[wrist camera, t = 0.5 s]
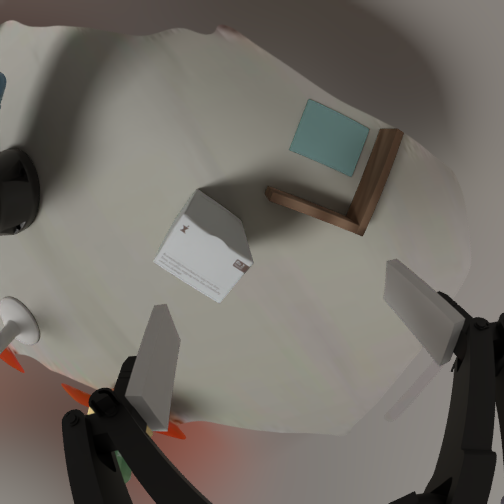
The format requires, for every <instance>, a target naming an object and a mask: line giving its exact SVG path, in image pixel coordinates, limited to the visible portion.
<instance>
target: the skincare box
mask: <svg viewBox="0 0 504 504" xmlns="http://www.w3.org/2000/svg"><path fill="white" fill-rule="evenodd" d="M153 262H154V263H156V264H157V265H159V266H160V267H162V268H163V269H165V270H166V271H168V272H169V273H171V274H172V275H174V276H176V277H177V278H179V279H180V280H182V281H183V282H185V283H187V284H188V285H190V286H191V287H193V288H195V289H196V290H198V291H199V292H201V293H203V294H204V295H206V296H208V297H209V298H211V299H213V300H214V301H216V302H218V303H220V302H221V301H222V300H223V299H224V298H225V296H226V295H227V294H228V293H229V292H230V290H231V289H232V288H233V287H234V286H235V284H236V283H237V282H238V281H239V280H240V278H241V277H242V276H243V275H244V274H245V273H246V271H247V270H248V269H249V268H250V267H251V266H252V265H253V263H254V262H253V259H252V255H251V252H250V248H249V245H248V241H247V238H246V234H245V231H244V227H243V224H242V221H241V220H240V219H239V218H238V217H236V216H235V215H234V214H232V213H231V212H230V211H228V210H227V209H226V208H224V207H223V206H222V205H220V204H219V203H217V202H216V201H215V200H213V199H212V198H210V197H209V196H207V195H205V194H204V193H203V192H201V191H200V190H199V189H197V190H196V191H195V192H194V193H193V195H192V196H191V197H190V199H189V200H188V201H187V203H186V204H185V206H184V207H183V208H182V210H181V211H180V213H179V214H178V215H177V217H176V218H175V220H174V222H173V223H172V225H171V227H170V229H169V231H168V233H167V235H166V236H165V238H164V240H163V242H162V244H161V246H160V248H159V250H158V252H157V254H156V256H155V258H154V260H153Z"/></svg>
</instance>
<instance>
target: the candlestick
mask: <svg viewBox="0 0 504 504" xmlns="http://www.w3.org/2000/svg"><path fill="white" fill-rule="evenodd" d="M0 314H1V318H2V321H3V323H4V325H5V326H4V328H3V329H2V331H1V332H0V354H1V353H2V352H3V350H4V349H5V348H6V347H7V346H8V345H9V344H10V343H11V342H12V340H13V339H15V338H16V339H17V340H18V341H20V342H22V343H24V344H27V345H34V344H36V343H37V341H38V340H39V336H40V334H39V328H38V325H37V323H36V321H35V319H34V317H33V316H32V314H31V313H30V311H29V310H28V309H27V308H26V307H25V306H24V305H23V304H22V303H21V302H20V301H18V300H17V299H15V298H13V297H5V298H4V299H2V301H1V303H0Z"/></svg>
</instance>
